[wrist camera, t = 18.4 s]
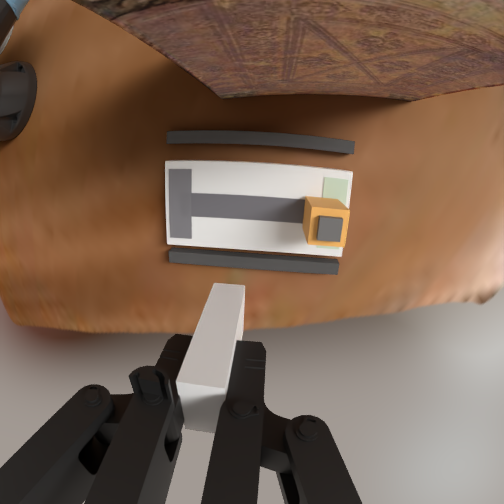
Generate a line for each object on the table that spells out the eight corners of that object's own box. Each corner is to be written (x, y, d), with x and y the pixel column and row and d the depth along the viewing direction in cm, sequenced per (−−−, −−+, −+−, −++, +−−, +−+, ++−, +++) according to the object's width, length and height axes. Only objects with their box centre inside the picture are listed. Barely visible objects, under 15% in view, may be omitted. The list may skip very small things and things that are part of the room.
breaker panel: (170, 160, 35) (164, 161, 34) (348, 170, 34) (353, 172, 32) (171, 239, 39) (167, 244, 38) (338, 251, 38) (341, 256, 36)
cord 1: (171, 131, 34) (166, 131, 33) (351, 141, 33) (354, 141, 31) (170, 143, 35) (166, 143, 33) (350, 153, 34) (353, 154, 32)
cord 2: (172, 247, 40) (168, 251, 38) (337, 259, 39) (339, 263, 37) (172, 257, 41) (169, 262, 39) (335, 269, 39) (337, 274, 38)
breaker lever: (305, 196, 34) (312, 208, 27) (337, 199, 34) (352, 212, 27) (302, 227, 35) (308, 247, 29) (333, 230, 35) (346, 250, 29)
